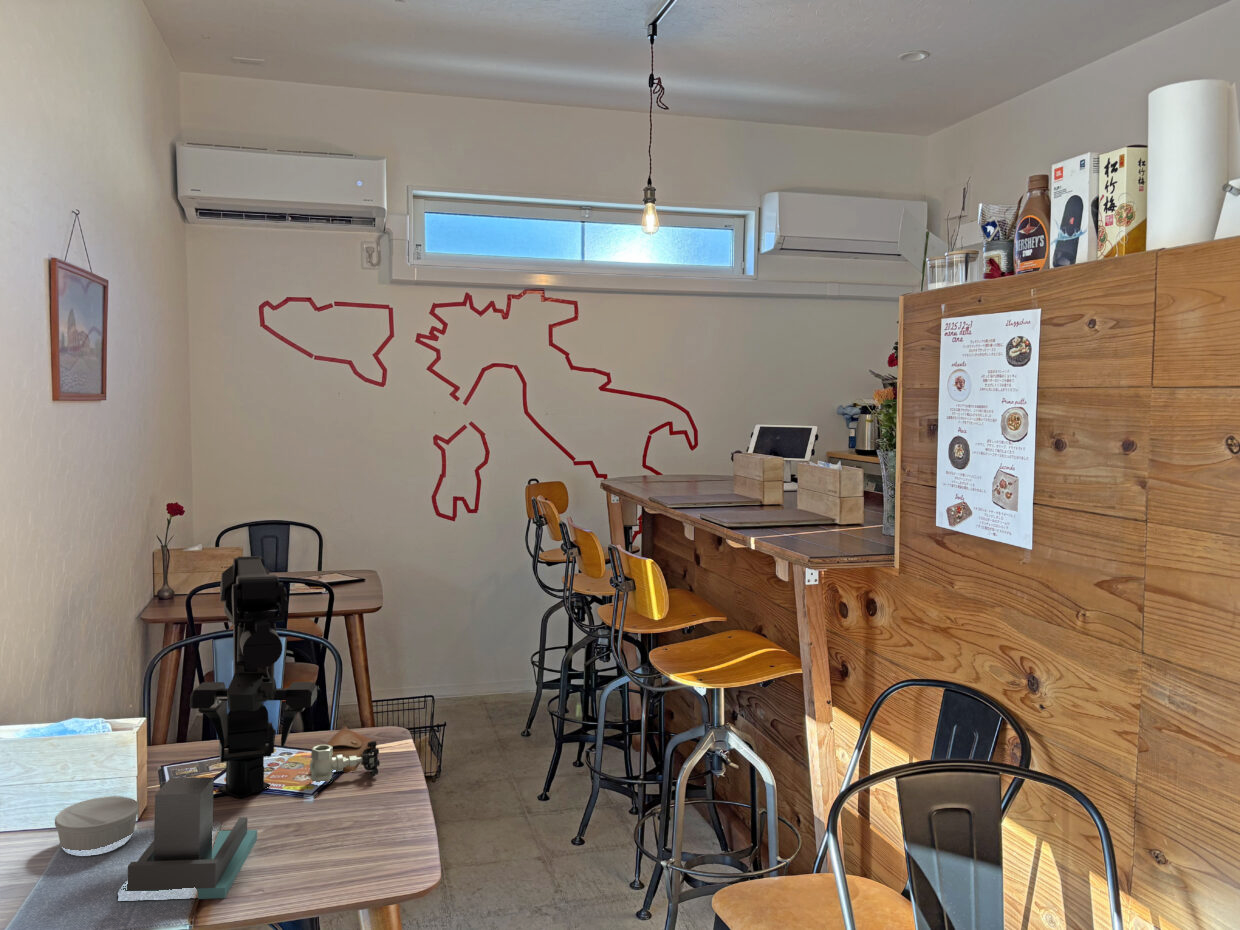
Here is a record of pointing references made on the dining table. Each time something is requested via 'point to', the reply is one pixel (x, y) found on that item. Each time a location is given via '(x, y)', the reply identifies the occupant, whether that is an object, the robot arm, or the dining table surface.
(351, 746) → the sunglasses case
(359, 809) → the dining table surface
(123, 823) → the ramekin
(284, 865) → the dining table surface
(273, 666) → the robot arm
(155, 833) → the lock block
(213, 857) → the dock plate
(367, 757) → the valve
